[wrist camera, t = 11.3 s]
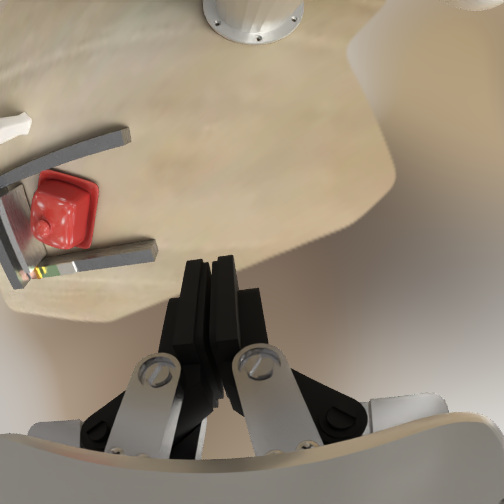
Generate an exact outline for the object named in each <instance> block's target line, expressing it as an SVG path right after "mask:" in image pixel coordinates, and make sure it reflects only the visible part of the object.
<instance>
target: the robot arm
mask: <svg viewBox="0 0 504 504" xmlns="http://www.w3.org/2000/svg"><path fill="white" fill-rule="evenodd" d="M303 1H304V0H203V11H204V15H205V17H206V20H207V22H208V23H209V25H210V26H211V27H212V28H213V29H214V30H215V31H216V32H217V33H218V34H219V35H221V36H222V37H224V38H226V39H228V40H230V41H232V42H236V43H240V44H245V45H265V44H270V43H273V42H276V41H279V40H281V39H283V38H284V37H286V36H288V35H289V34H290V33H291V32H293V30H294V29H295V28H296V27H297V26H298V25H299V23H300V21H301V19H302V16H303V13H304V2H303ZM441 1H443V2H445V3H447V4H449V5H451V6H454V7H457V8H460V9H465V10H472V11H479V10H486V9H490V8H493V7H495V6H498V5H500V4H502V3H504V0H441ZM292 19H294V20H295V22H293V21H292ZM217 23H218V24H220V25H219V26H216V24H217ZM257 38H259V39H260V41H257V40H256V39H257ZM223 386H224V389H225V391H226V394H227V397H228V398H229V399H230V402H231V404H232V407H233V410H235V411H236V412H238V413H239V414H241V415H242V416H244V417H245V420H246V424H247V427H248V431H249V435H250V438H251V442H252V445H253V449H254V452H255V455H256V457H246V458H234V459H233V458H232V459H212V460H201V455H202V449H203V443H204V437H205V431H206V425H207V416H208V415H209V414H210V413H211V412H212V411H213V408H216V407H218V399H223V397H224V392H223ZM0 504H504V435H503V434H502V432H501V430H500V429H499V428H498V427H497V425H496V424H495V423H494V422H493V421H492V420H491V419H489V418H488V417H486V416H484V415H482V414H478V413H470V412H452V413H449V411H448V406H447V404H446V402H445V400H444V399H443V398H442V397H441V396H440V395H437V394H435V393H421V394H414V395H406V396H398V397H389V398H377V399H371V400H370V401H369V402H358V401H356V400H355V399H353V398H350V397H349V396H346V395H344V394H342V393H340V392H338V391H336V390H334V389H331V388H329V387H327V386H325V385H323V384H321V383H319V382H317V381H315V380H313V379H311V378H309V377H307V376H305V375H303V374H301V373H299V372H297V371H295V370H293V369H291V368H290V366H289V364H288V361H287V359H286V357H285V355H284V354H283V352H282V351H281V350H280V349H278V348H277V347H275V346H273V345H269V344H268V338H267V332H266V327H265V321H264V315H263V309H262V303H261V297H260V292H259V288H254V289H246V290H239V287H238V281H237V275H236V269H235V263H234V257H233V255H227V256H220V257H218V261H213V262H212V275H211V271H210V266H209V263H208V262H205V263H203V260H202V259H197V260H190V261H187V262H186V267H185V272H184V277H183V282H182V288H181V293H180V297H179V298H170V299H169V302H168V306H167V311H166V315H165V320H164V325H163V330H162V335H161V340H160V346H159V351H158V353H154V354H151V355H148V356H146V357H145V358H143V359H142V360H141V361H140V362H139V363H138V364H137V366H136V367H135V369H134V371H133V373H132V376H131V379H130V381H129V384H128V387H127V389H126V390H125V391H124V392H123V393H121V394H120V395H119V396H117V397H116V398H115V399H113V400H112V401H110V402H109V403H108V404H107V405H105V406H104V407H102V408H101V409H99V410H98V411H97V412H95V413H94V414H93V415H91V416H90V417H89V418H88V419H87V420H86V421H85V422H82V421H81V420H80V419H79V420H68V421H54V422H39V423H36V424H34V425H33V426H32V427H31V428H30V430H29V432H28V435H21V434H10V433H9V434H0Z"/></svg>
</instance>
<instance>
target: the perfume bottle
mask: <svg viewBox="0 0 504 504" xmlns="http://www.w3.org/2000/svg"><path fill="white" fill-rule="evenodd" d="M31 122H32V119H31V118H30V117H29V116H28V115H27V114H26V113H25V112H23V113H21V114H20V115H18V116H10V117H3V118H0V144H2V143H4V142H6V141H8V140H10V139H12V138H14V137H16V136H19V135H28V132H29V129H30V126H31Z"/></svg>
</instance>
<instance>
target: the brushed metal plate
mask: <svg viewBox="0 0 504 504" xmlns="http://www.w3.org/2000/svg"><path fill="white" fill-rule="evenodd" d="M30 214H31V211H30V208H29V205H28V202H27V198H26V195H25V192H24V189H23V185H19V186H17V187H15V188H13V189H12V190H10V191H9V192H7V193H6V194H4V195H2V196H1V197H0V216H1V219H2V222H3V224H4V227H5V230H6V232H7V235H8V237H9V240H10V242H11V244H12V247H13V249H14V251H15V254H16V256H17V258H18V260H19V263H20V265H21V267H22V269H23V271H24V273H25V274H26V273H31V272H32V271H33V270H34V272H35V274H36V276H37V278H38V279H41V278H42V275H41V273H40V271H39V268H38V266H37V265H38V263H39V262H40V261H41V260H42V259H43V257H44V256H45V255H46V254H47V252H46V250H45V248H44V245H43V243H42V242H41V241H39V240H37V239H36V238H35V237H34V236H33V234H32V231H31V224H30Z"/></svg>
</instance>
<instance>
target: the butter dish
mask: <svg viewBox="0 0 504 504" xmlns="http://www.w3.org/2000/svg"><path fill="white" fill-rule="evenodd" d="M98 194H99V190H98V186H97V185H96V184H95V183H93V182H91V181H88V180H84V179H81V178H78V177H75V176H71V175H68V174H64V173H61V172H57V171H53V170H49V169H47V170H44V171H42V172H40V175H39V181H38V189H37V190H36V191H35V193H34V196H33V199H32V204H31V214H30V224H31V231H32V234H33V236H34V237H35V238H36V239H37V240H39V241H41V242H43V243H45V244H47V245H49V246H52V247H55V248H59V249H71V248H72V247H74V246H75V247H79V248H83V249H88V248H90V246H91V242H92V236H93V228H94V222H95V215H96V209H97V203H98V197H99V196H98Z"/></svg>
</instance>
